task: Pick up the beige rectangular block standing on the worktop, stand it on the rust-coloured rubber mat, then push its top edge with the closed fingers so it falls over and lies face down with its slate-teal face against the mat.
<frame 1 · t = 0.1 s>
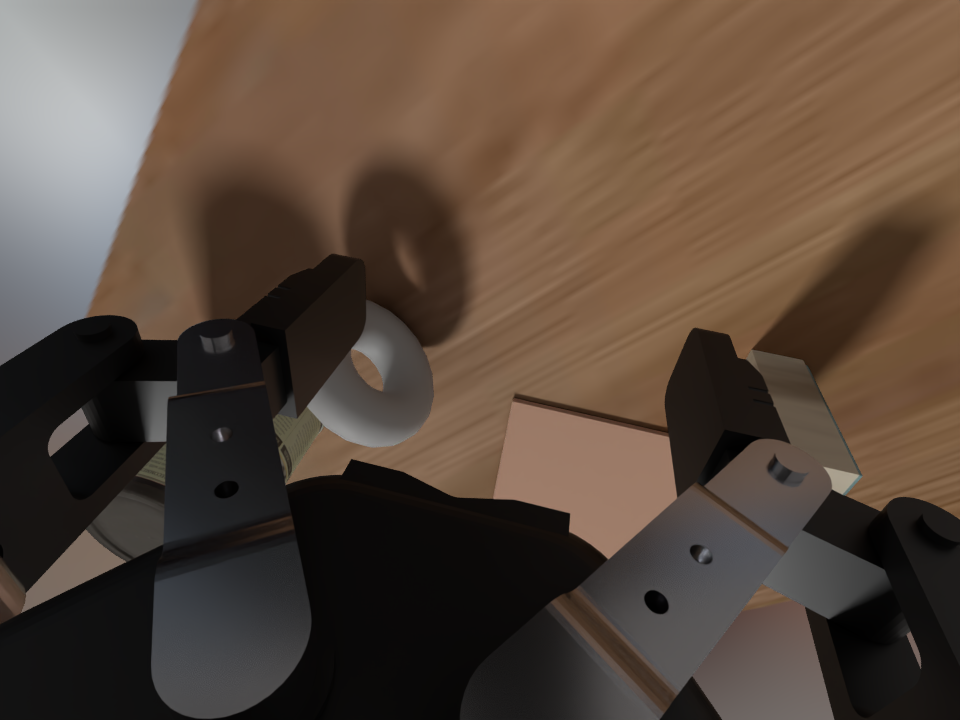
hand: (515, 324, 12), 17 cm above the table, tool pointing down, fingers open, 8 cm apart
mat: (620, 498, 41), on the table
donut: (396, 325, 35), on the table
coffee can: (272, 395, 43), on the table
beige rectangular block: (755, 391, 32), on the table
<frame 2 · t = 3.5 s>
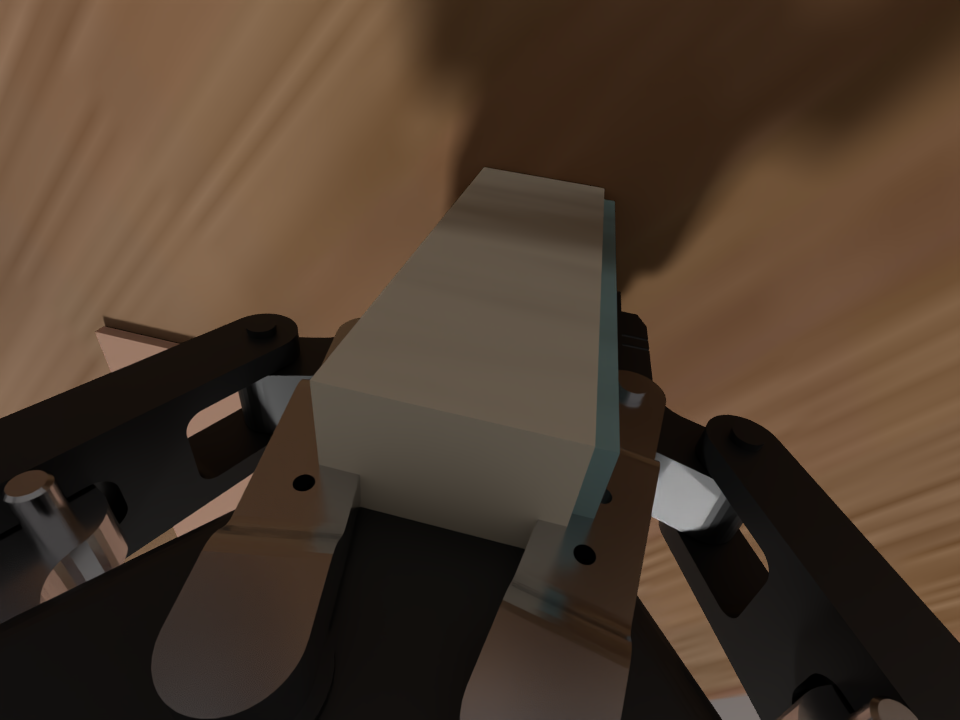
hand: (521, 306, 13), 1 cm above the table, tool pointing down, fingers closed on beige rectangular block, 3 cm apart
mat: (364, 525, 22), on the table
beige rectangular block: (523, 286, 14), on the table, touching gripper
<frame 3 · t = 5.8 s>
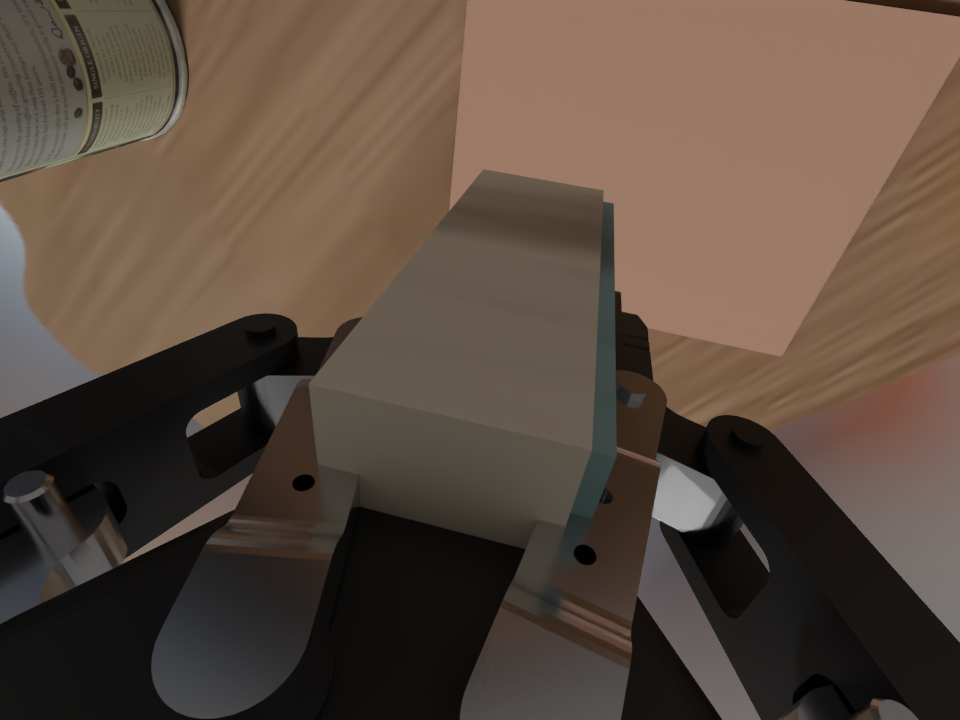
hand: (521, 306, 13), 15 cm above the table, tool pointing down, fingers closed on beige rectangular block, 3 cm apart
mat: (649, 180, 25), on the table
coffee can: (104, 39, 27), on the table
beige rectangular block: (523, 287, 14), point 14 cm above the table, touching gripper
when the fingers open (3 cm above the table, at t = 8.6 s): beige rectangular block stays where it is, resting on mat.
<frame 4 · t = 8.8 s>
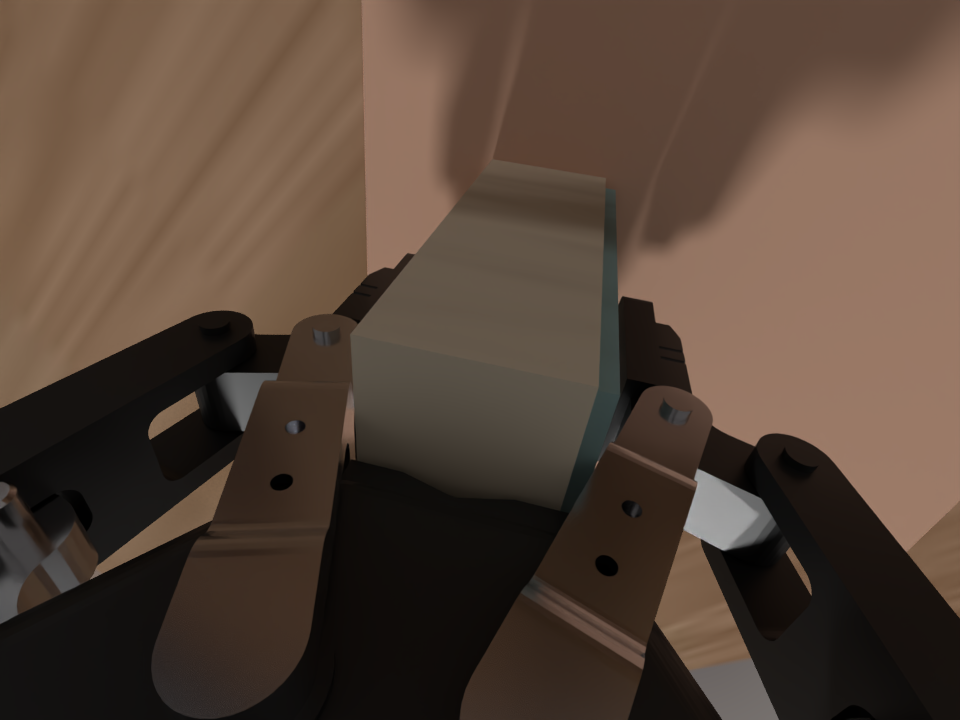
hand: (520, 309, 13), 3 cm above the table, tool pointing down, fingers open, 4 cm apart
mat: (696, 299, 15), on the table
beige rectangular block: (529, 272, 15), resting on mat
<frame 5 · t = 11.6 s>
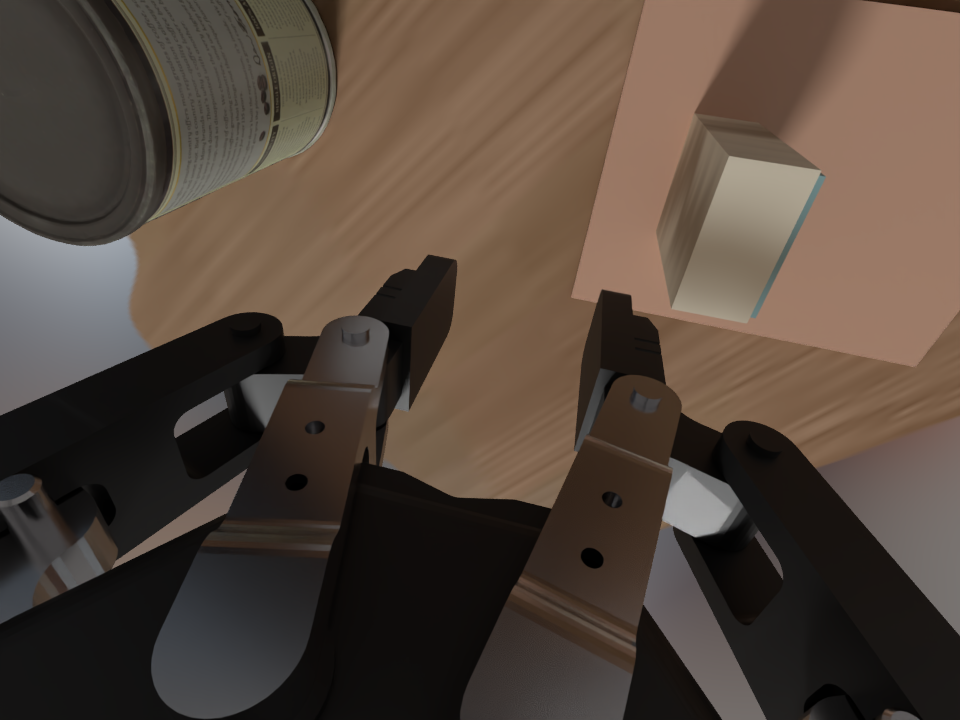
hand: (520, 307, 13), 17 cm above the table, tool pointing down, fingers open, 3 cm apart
mat: (800, 195, 26), on the table
coffee can: (253, 62, 28), on the table
beige rectangular block: (703, 181, 26), resting on mat
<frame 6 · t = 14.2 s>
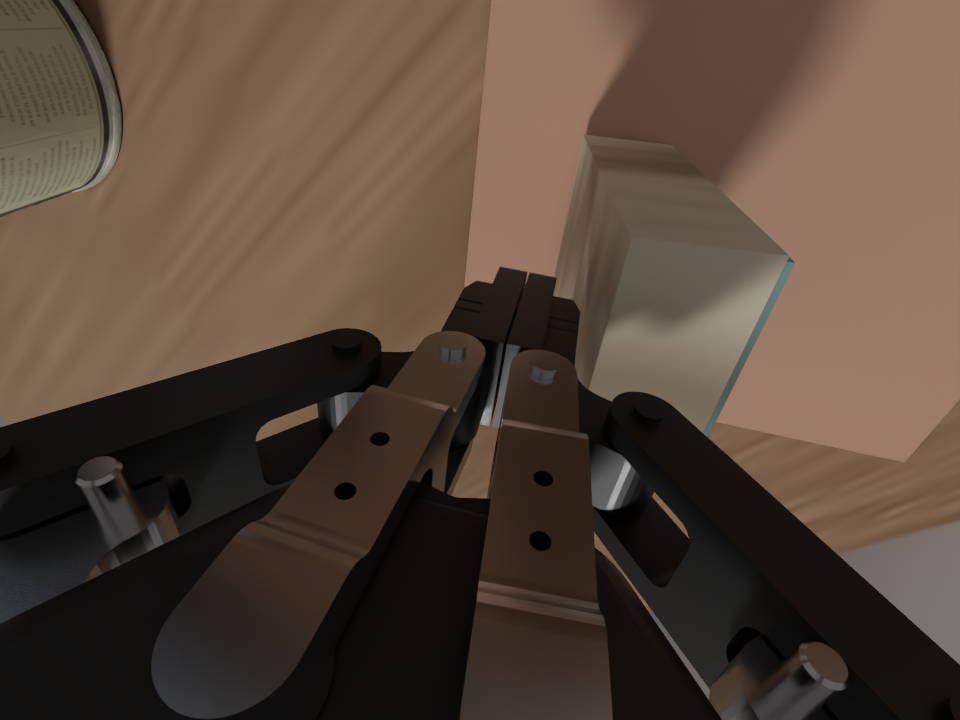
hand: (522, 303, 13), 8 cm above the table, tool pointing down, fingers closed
mat: (738, 243, 19), on the table
coffee can: (13, 66, 21), on the table
beige rectangular block: (605, 226, 19), point 1 cm above the table, tilted 9°, touching mat
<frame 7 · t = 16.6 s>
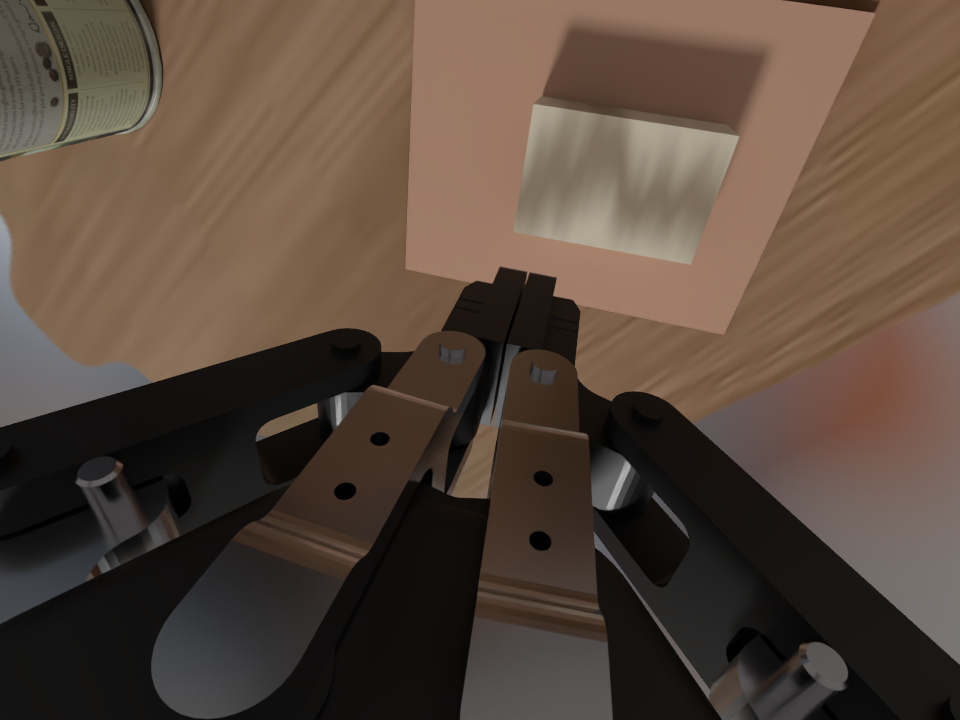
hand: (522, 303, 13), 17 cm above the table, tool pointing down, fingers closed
mat: (591, 166, 27), on the table
coffee can: (85, 39, 29), on the table
beige rectangular block: (526, 165, 26), point 2 cm above the table, tilted 90°, touching mat
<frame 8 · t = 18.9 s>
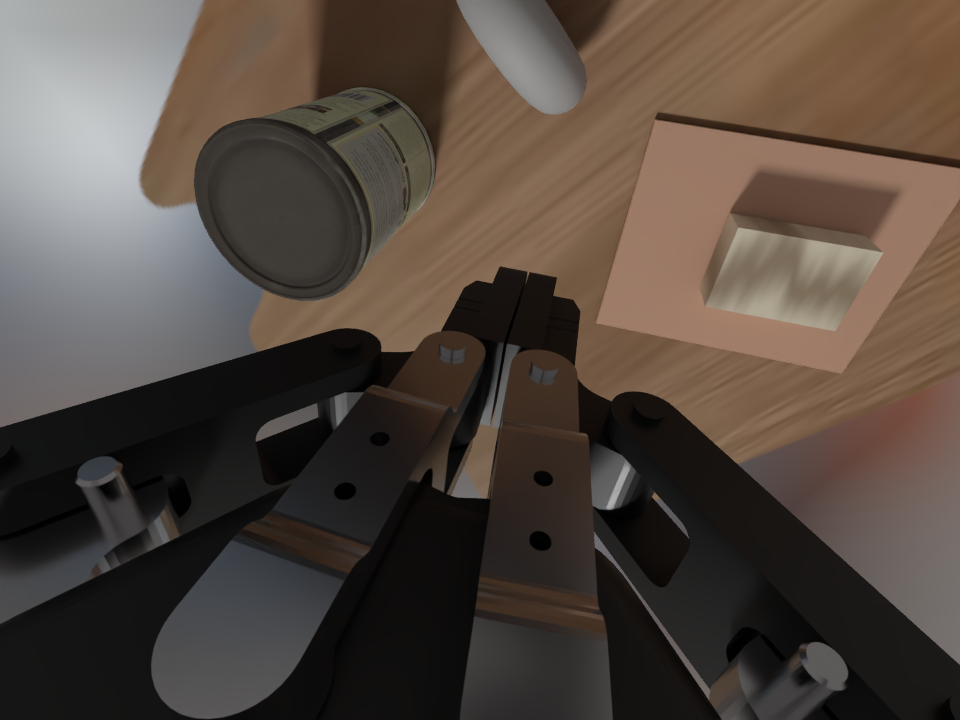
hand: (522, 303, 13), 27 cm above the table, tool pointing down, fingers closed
mat: (756, 256, 37), on the table
donut: (534, 29, 33), on the table
coffee can: (375, 159, 40), on the table
beige rectangular block: (717, 260, 36), point 2 cm above the table, tilted 90°, touching mat
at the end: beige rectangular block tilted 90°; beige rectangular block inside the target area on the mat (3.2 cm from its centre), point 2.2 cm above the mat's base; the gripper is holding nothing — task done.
